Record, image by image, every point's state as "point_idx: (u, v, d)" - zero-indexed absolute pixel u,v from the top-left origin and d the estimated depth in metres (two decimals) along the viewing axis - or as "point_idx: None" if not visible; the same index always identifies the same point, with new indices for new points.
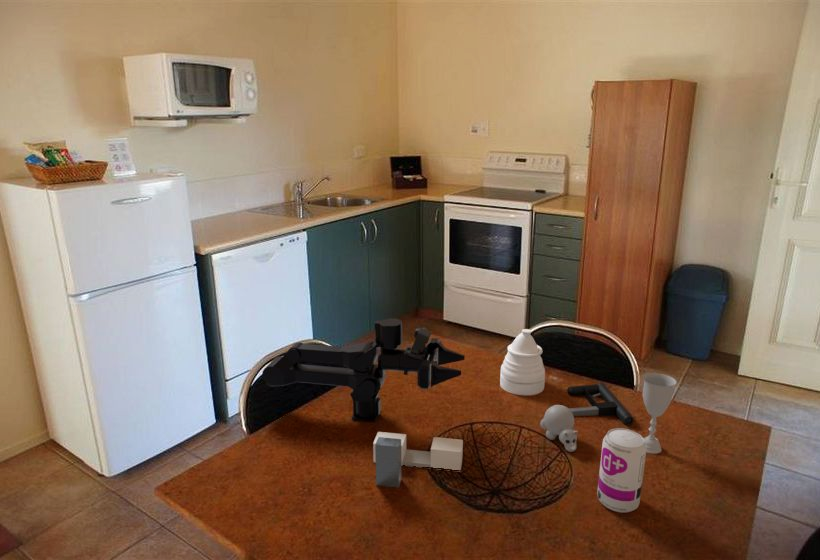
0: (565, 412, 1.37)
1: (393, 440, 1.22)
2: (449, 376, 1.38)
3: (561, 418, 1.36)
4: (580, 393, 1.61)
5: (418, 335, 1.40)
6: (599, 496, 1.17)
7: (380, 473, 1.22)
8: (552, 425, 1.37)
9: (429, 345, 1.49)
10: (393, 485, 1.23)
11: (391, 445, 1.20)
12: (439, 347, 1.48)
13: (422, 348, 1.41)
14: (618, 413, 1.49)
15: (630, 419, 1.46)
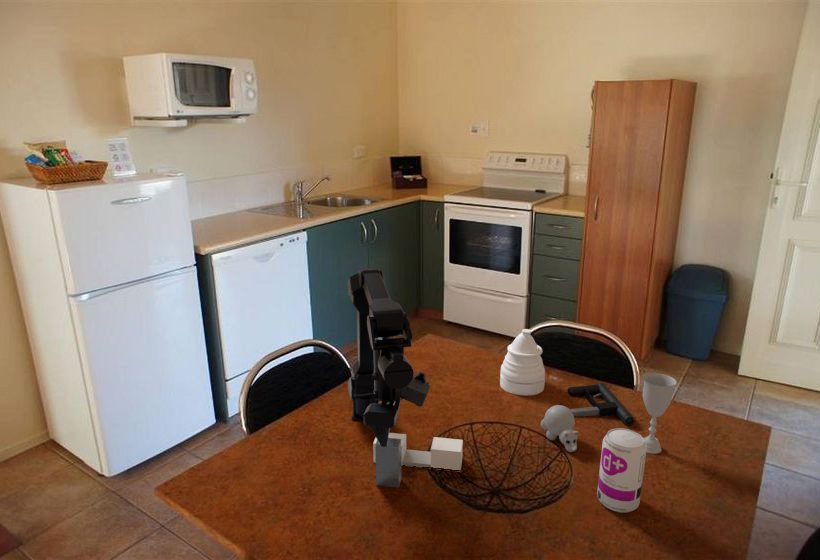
0: (565, 412, 1.37)
1: (393, 439, 1.22)
2: (379, 436, 1.15)
3: (562, 418, 1.36)
4: (580, 393, 1.61)
5: (424, 395, 1.15)
6: (599, 496, 1.17)
7: (380, 473, 1.22)
8: (552, 426, 1.37)
9: None
10: (393, 485, 1.23)
11: (391, 445, 1.20)
12: None
13: (408, 399, 1.15)
14: (619, 413, 1.49)
15: (631, 419, 1.46)
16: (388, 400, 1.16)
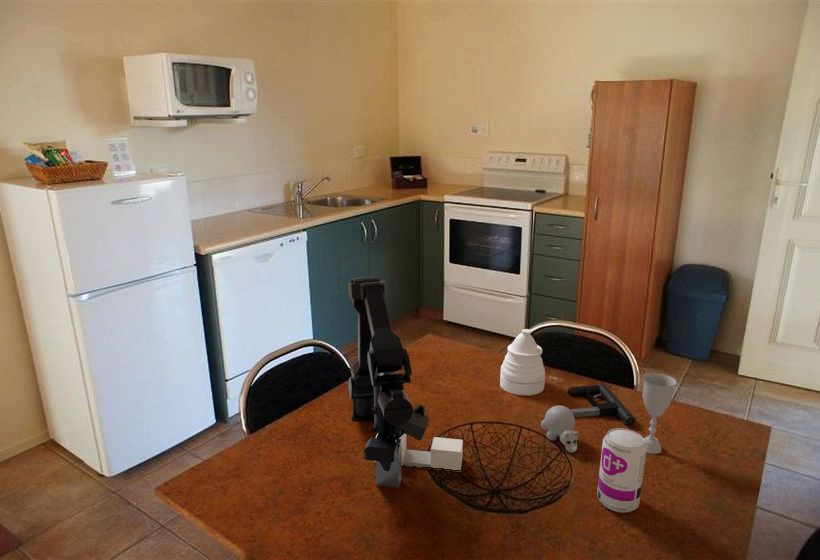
0: (566, 413, 1.37)
1: None
2: (382, 461, 1.20)
3: (562, 419, 1.36)
4: (581, 394, 1.61)
5: (423, 429, 1.17)
6: (599, 496, 1.17)
7: (380, 473, 1.22)
8: (552, 426, 1.37)
9: None
10: (393, 485, 1.23)
11: None
12: None
13: (407, 433, 1.17)
14: (619, 414, 1.49)
15: (631, 420, 1.46)
16: (388, 434, 1.18)
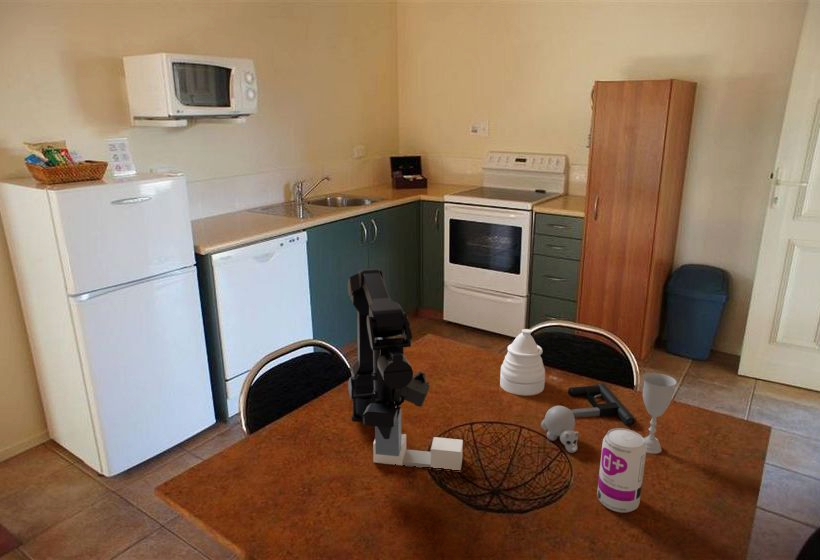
0: (566, 413, 1.37)
1: None
2: (381, 429, 1.18)
3: (562, 419, 1.36)
4: (581, 394, 1.61)
5: (424, 395, 1.14)
6: (599, 496, 1.17)
7: (379, 441, 1.20)
8: (553, 426, 1.37)
9: None
10: (393, 454, 1.20)
11: None
12: (399, 402, 1.21)
13: (407, 399, 1.15)
14: (619, 414, 1.49)
15: (632, 420, 1.46)
16: (388, 400, 1.16)
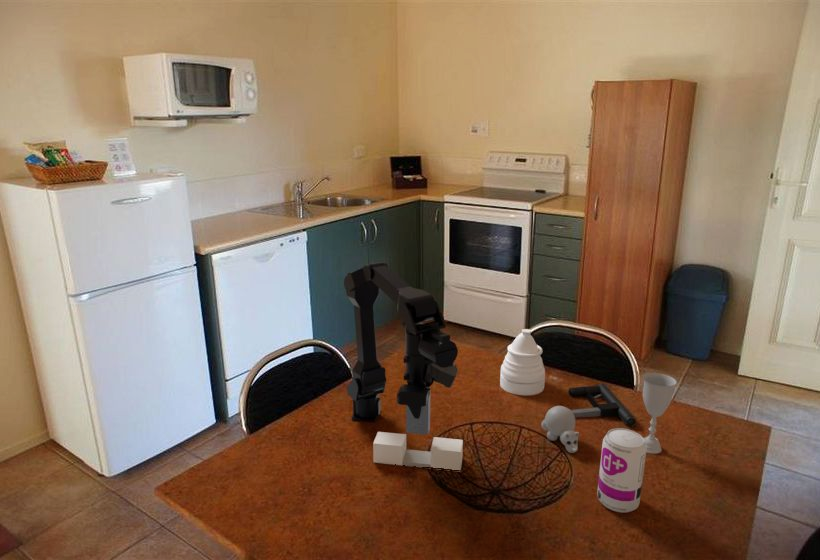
0: (566, 413, 1.37)
1: None
2: (412, 409, 1.26)
3: (563, 419, 1.36)
4: (581, 394, 1.61)
5: (453, 377, 1.22)
6: (599, 496, 1.17)
7: (410, 421, 1.28)
8: (553, 427, 1.37)
9: None
10: (423, 432, 1.28)
11: None
12: (429, 384, 1.28)
13: (437, 380, 1.23)
14: (620, 414, 1.49)
15: (632, 420, 1.46)
16: (419, 381, 1.23)
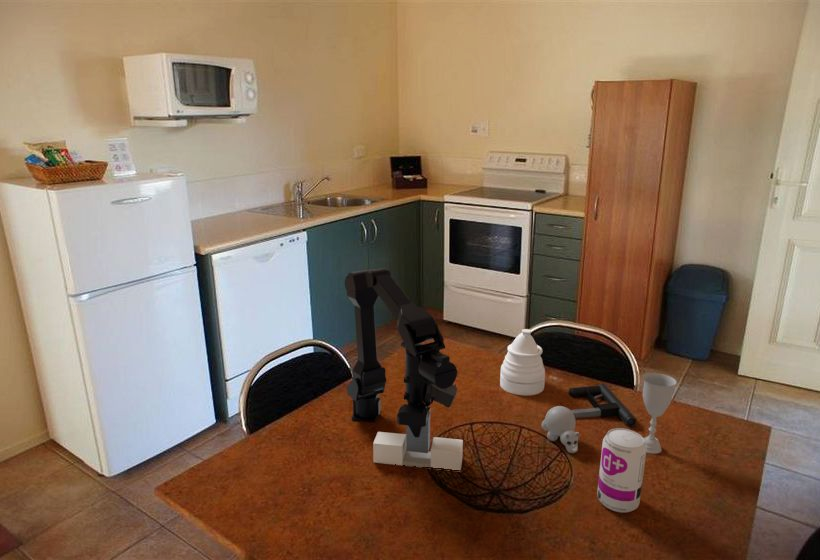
0: (566, 413, 1.37)
1: None
2: (412, 428, 1.27)
3: (563, 419, 1.36)
4: (582, 394, 1.61)
5: (452, 397, 1.23)
6: (599, 496, 1.17)
7: (410, 439, 1.29)
8: (553, 427, 1.36)
9: None
10: (422, 451, 1.29)
11: None
12: (428, 403, 1.30)
13: (437, 400, 1.24)
14: (620, 414, 1.48)
15: (633, 420, 1.46)
16: (419, 401, 1.25)
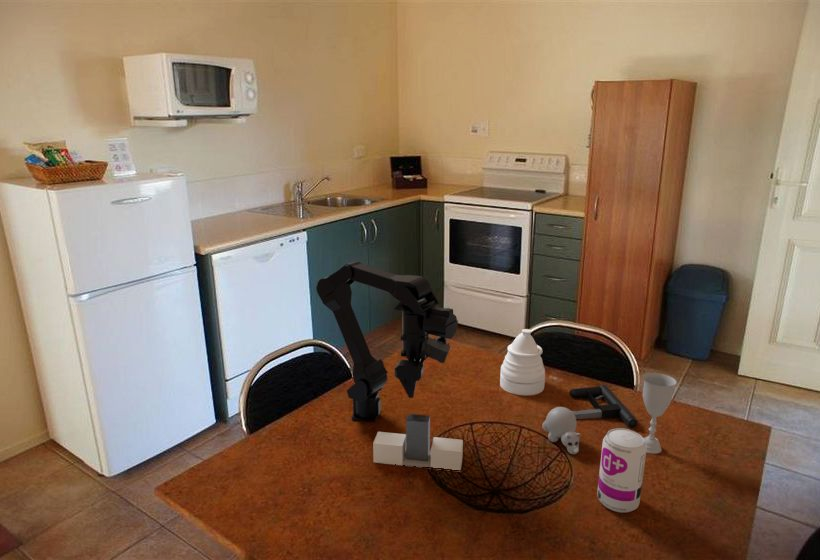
0: (567, 414, 1.36)
1: (422, 416, 1.30)
2: (407, 388, 1.35)
3: (564, 420, 1.35)
4: (583, 395, 1.60)
5: (446, 353, 1.34)
6: (599, 496, 1.17)
7: (410, 448, 1.30)
8: (554, 428, 1.36)
9: None
10: (422, 459, 1.30)
11: (421, 421, 1.27)
12: (425, 356, 1.43)
13: (432, 356, 1.35)
14: (622, 416, 1.48)
15: (634, 422, 1.45)
16: (415, 357, 1.35)
